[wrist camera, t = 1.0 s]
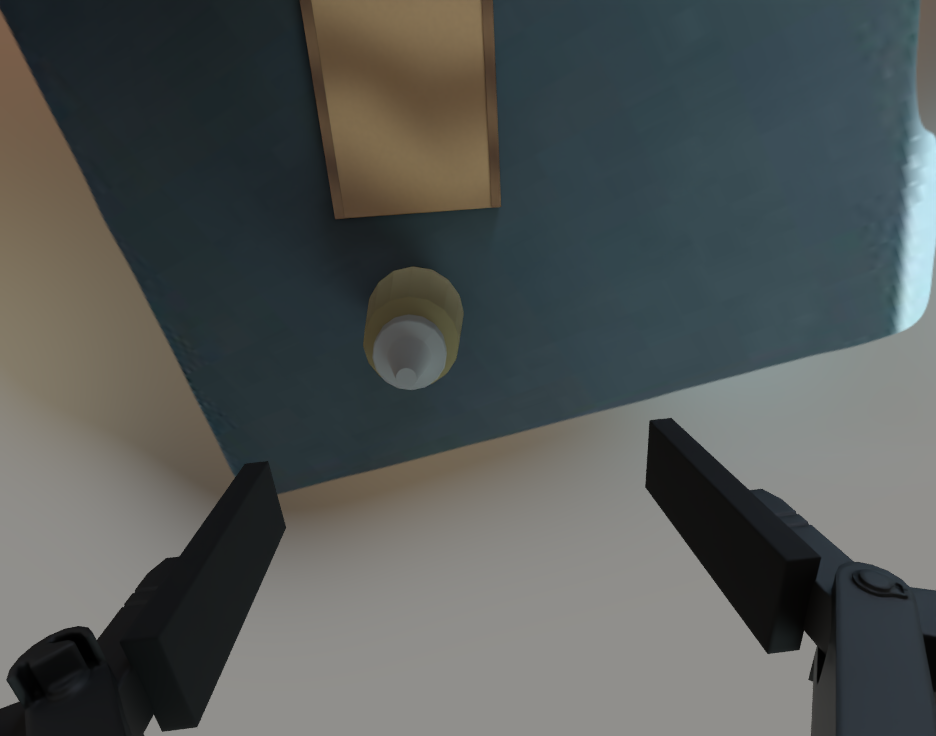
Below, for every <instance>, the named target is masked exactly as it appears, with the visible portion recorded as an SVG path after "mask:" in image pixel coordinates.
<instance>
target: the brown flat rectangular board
mask: <svg viewBox="0 0 936 736" xmlns="http://www.w3.org/2000/svg"><path fill="white" fill-rule="evenodd" d="M300 5H301V11H302V18H303V24H304V30H305V36H306V42H307V49H308V55H309V61H310V67H311V73H312V79H313V86H314V92H315V98H316V104H317V110H318V116H319V123H320V129H321V135H322V141H323V147H324V154H325V160H326V166H327V172H328V178H329V184H330V191H331V197H332V203H333V209H334V215H335V219H345V218H358V217H371V216H385V215H398V214H412V213H425V212H439V211H452V210H466V209H479V208H494V207H501V194H500V170H499V145H498V120H497V95H496V70H495V45H494V20H493V0H300Z"/></svg>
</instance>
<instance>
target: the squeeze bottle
mask: <svg viewBox="0 0 936 736" xmlns="http://www.w3.org/2000/svg"><path fill="white" fill-rule="evenodd" d="M463 314H464V313H463V308H462V304H461V300H460V295H459V294H458V293H457V291H456V290H455V288H454V287H453V286H452V284H451V283H450V281H449V280H448V279H446V278H445V277H443V276H441V275H440V274H438V273H437V272H435V271H433V270H431V269H425V268H419V267H408V268H404V269H400V270H396V271H393V272H392V273H390V274H389V275H388V276H386V277H385V278H384V279H382V280H381V281H380V282H378V284H377V286H376V288H375V289H374V291H373V293H372V295H371V296H370V298H369V304H368V311H367V318H366V325H365V334H364V343H363V347H364V350H365V353H366V356H367V359H368V362H369V364H370V365H371V366H372V367H373V369H374V370H375V371H376V372H377V373H378V374H379V376H380V377H382V378H383V379H384V380H385V381H386V382H387V383H389V384H391V385H393V386H395V387H397V388H400V389H408V390H415V389H419V388H423V387H426V386H428V385H429V384H432V383H434V382H435V381H437V380H438V379H440V378H441V377H443V376H444V375H445V374H447V372H448V371H449V369H450V368H451V366H452V365H453V363H454V362H455V360H456V357H457V352H458V346H459V340H460V334H461V327H462V321H463Z"/></svg>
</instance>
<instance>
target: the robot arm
mask: <svg viewBox="0 0 936 736" xmlns="http://www.w3.org/2000/svg"><path fill="white" fill-rule="evenodd" d="M645 487H646V489H647V490H648V491H649V493H650V494H651V495H652V497H653V498H654V500H655V501H656V502H657V504H658V505H659V506H660V508H661V509H662V510H663V512H664V513H665V515H666V516H667V517H668V519H669V520H670V521H671V522H672V524H673V525H674V527H675V528H676V530H677V531H678V532H679V534H680V535H681V536H682V538H683V539H684V540H685V542H686V543H687V545H688V546H689V547H690V549H691V550H692V551H693V553H694V554H695V555H696V557H697V558H698V559H699V561H700V562H701V564H702V565H703V566H704V568H705V569H706V570H707V572H708V573H709V574H710V576H711V577H712V578H713V580H714V581H715V583H716V584H717V585H718V587H719V588H720V589H721V591H722V592H723V593H724V595H725V596H726V598H727V599H728V600H729V602H730V603H731V604H732V606H733V607H734V608H735V610H736V611H737V613H738V614H739V615H740V617H741V618H742V620H743V621H744V622H745V624H746V625H747V626H748V628H749V629H750V630H751V632H752V633H753V635H754V636H755V637H756V639H757V640H758V641H759V643H760V644H761V645H762V647H763V648H764V650H765V651H766V652H767V654H770V653H779V652H786V651H794V650H799V649H800V645H801V641H802V637H803V632H804V631H805V632H806V633H807V634H808V635H809V636H810V638H811V639H812V640H813V641H814V642H815V644H816V645H817V648H816V652H815V656H814V660H813V664H812V668H811V672H810V676H809V680H811V681H813V702H812V725H811V736H936V591H935V590H927V589H920V588H912V587H909V586H908V585H907V584H906V583H905V582H904V581H903V580H902V579H900V578H899V577H897V576H895V575H894V574H892V573H890V572H889V571H887V570H884V569H881V568H879V567H876V566H874V565H870V564H865V563H860V562H854V561H852V560H851V559H850V558H849V557H848V556H846V555H845V554H844V553H843V552H842V551H841V550H840V549H838V548H837V547H836V546H835V545H834V544H833V543H832V542H830V541H829V540H828V539H827V538H826V537H825V536H823V535H822V534H821V533H820V532H819V531H818V530H816V529H815V528H814V527H813V526H812V525H809V524H808V522H807V521H806V520H805V519H804V518H803V517H802V516H800V515H799V514H796V511H795V510H793V509H792V508H791V507H790V506H789V505H788V504H786V503H785V502H784V501H783V500H782V499H780V498H778V497H776V496H774V495H773V494H771V493H769V492H767V491H765V490H763V489H757V490H748V489H747V488H746V487H745V486H744V485H743V484H742V483H741V482H740V481H739V480H738V479H736V478H735V477H734V476H733V475H732V474H731V473H730V472H729V471H728V470H727V469H726V468H724V466H723V465H721V464H720V463H719V462H718V461H717V460H716V459H715V458H714V457H713V456H712V455H711V454H710V453H708V452H707V451H706V450H705V449H704V448H703V447H702V446H701V445H700V444H699V443H698V442H697V441H695V440H694V439H693V438H692V437H691V436H690V435H689V434H688V433H687V432H686V431H685V430H683V428H681V427H680V426H679V425H678V424H677V423H676V422H675V421H674V420H673V419H672V418H667V419H658V420H650V424H649V439H648V455H647V470H646V485H645ZM285 529H286V526H285V522H284V518H283V515H282V511H281V507H280V504H279V500H278V496H277V493H276V489H275V485H274V482H273V478H272V474H271V470H270V467H269V463H268V461H266V462H257V463H248V464H244V466H243V467H242V469H241V470H240V472H239V473H238V474H237V476H236V477H235V479H234V480H233V481H232V483H231V484H230V486H229V487H228V489H227V490H226V492H225V493H224V494H223V496H222V497H221V498H220V500H219V501H218V503H217V504H216V506H215V507H214V508H213V510H212V511H211V513H210V514H209V516H208V517H207V518H206V520H205V521H204V523H203V524H202V525H201V527H200V528H199V530H198V531H197V532H196V534H195V535H194V537H193V538H192V540H191V541H190V542H189V544H188V545H187V547H186V548H185V549H184V551H183V552H182V554H181V555H180V556H179V557H173V558H166V559H165V560H164V561H162V562H161V563H160V564H159V565H157V566H156V567H155V568H154V569H152V570H151V571H150V572H149V573H148V574H147V575H146V576H145V578H144V579H143V580H142V581H141V583H140V584H139V585H138V587H137V588H136V590H135V593H133V594H132V595H131V596H130V597H129V599H128V600H127V601H126V603H125V606H124V607H122V608H121V609H120V610H119V612H118V613H117V614H116V616H115V617H114V618H113V620H112V621H111V622H110V624H109V625H108V626H107V628H106V629H105V630H104V631H103V633H102V634H101V635H100V637H99V638H98V640H96V638H95V637H94V635H93V633H92V631H91V630H90V629H89V628H88V627H81V626H77V627H72V628H67V629H63V630H61V631H59V632H57V633H54V634H52V635H49V636H48V637H46V638H45V639H43V640H41V641H40V642H38V643H37V644H35V645H33V646H32V647H31V648H30V649H28V650H27V651H26V652H25V653H24V654H23V655H21V656H20V657H19V658H18V660H17V661H16V662H15V663H14V665H13V666H12V667H11V669H10V670H9V674H8V677H7V682H8V683H9V685H10V687H11V688H12V690H13V691H14V693H15V695H16V696H17V698H18V700H19V701H20V702H17V703H15V704H12V705H9V706H7V707H4V708H1V709H0V736H144V734H143V733H144V731H145V729H146V728H147V726H148V724H149V722H150V720H151V718H152V717H153V715H154V716H155V718H156V720H157V722H158V724H159V726H160V728H161V730H162V732H163V731H171V730H179V729H187V728H194V727H197V726H198V724H199V722H200V720H201V717H202V715H203V712H204V711H205V708H206V706H207V704H208V702H209V699H210V697H211V695H212V693H213V691H214V688H215V686H216V684H217V681H218V679H219V677H220V675H221V673H222V670H223V668H224V666H225V663H226V661H227V659H228V657H229V655H230V652H231V650H232V648H233V646H234V643H235V641H236V639H237V636H238V634H239V632H240V630H241V628H242V625H243V623H244V621H245V619H246V616H247V614H248V612H249V610H250V607H251V605H252V603H253V601H254V598H255V596H256V594H257V592H258V590H259V587H260V585H261V583H262V580H263V578H264V576H265V574H266V572H267V569H268V567H269V565H270V562H271V560H272V558H273V556H274V554H275V551H276V549H277V547H278V545H279V542H280V540H281V538H282V536H283V533H284V531H285Z"/></svg>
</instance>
